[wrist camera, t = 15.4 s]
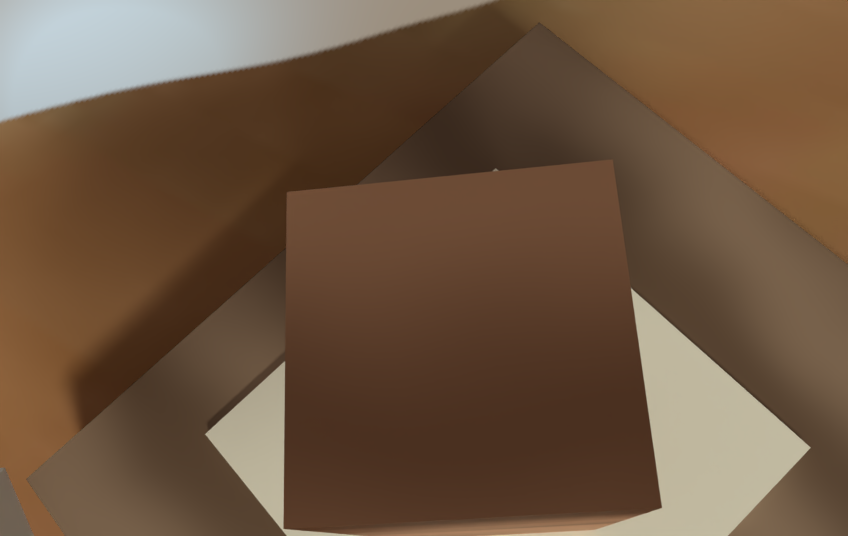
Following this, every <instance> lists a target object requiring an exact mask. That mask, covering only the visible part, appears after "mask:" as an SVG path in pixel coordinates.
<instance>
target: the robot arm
mask: <svg viewBox="0 0 848 536" xmlns="http://www.w3.org/2000/svg"><path fill="white" fill-rule="evenodd" d="M0 536H34V535H33V533H32V530H31V528H30V526H29V523H28V521H27V519H26V516H25V514H24V512H23V509H22V507H21V505H20V502H19V500H18V498H17V495H16V493H15V491H14V488H13V486H12V484H11V481H10V479H9V477H8V474H7V472H6V470H5V468H0Z"/></svg>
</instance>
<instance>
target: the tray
mask: <svg viewBox="0 0 848 536" xmlns="http://www.w3.org/2000/svg"><path fill="white" fill-rule="evenodd" d="M612 159H613V165H614V172H615V179H616V186H617V193H618V200H619V207H620V215H621V222H622V229H623V236H624V243H625V250H626V257H627V264H628V271H629V278H630V285H631V292H632V299H633V306H634V313H635V320H636V327H637V334H638V342H639V349H640V356H641V363H642V370H643V377H644V384H645V391H646V398H647V405H648V412H649V419H650V426H651V433H652V440H653V447H654V454H655V462H656V469H657V476H658V483H659V490H660V497H661V504H662V508H660V509H657V510H654V511H651V512H648V513H645V514H642V515H639V516H636V517H633V518H630V519H627V520H624V521H621V522H618V523H614V524H611V525H608V526H605V527H602V528H599V529H596V530H585V531H566V532H548V533H529V534H510V535H492V536H848V264H846V263H845V262H844V261H843V260H841V259H840V258H839V257H837V256H836V255H835V254H834V253H832V252H831V251H830V250H829V249H827V248H826V247H825V246H823V245H822V244H821V243H820V242H818V241H817V240H816V239H815V238H813V237H812V236H811V235H809V234H808V233H807V232H806V231H804V230H803V229H802V228H801V227H799V226H798V225H797V224H795V223H794V222H793V221H792V220H790V219H789V218H788V217H787V216H785V215H784V214H783V213H781V212H780V211H779V210H778V209H776V208H775V207H774V206H773V205H771V204H770V203H769V202H767V201H766V200H765V199H764V198H762V197H761V196H760V195H758V194H757V193H756V192H755V191H753V190H752V189H751V188H750V187H748V186H747V185H746V184H744V183H743V182H742V181H741V180H739V179H738V178H737V177H736V176H734V175H733V174H732V173H730V172H729V171H728V170H727V169H725V168H724V167H723V166H722V165H720V164H719V163H718V162H716V161H715V160H714V159H713V158H711V157H710V156H709V155H708V154H706V153H705V152H704V151H702V150H701V149H700V148H699V147H697V146H696V145H695V144H694V143H692V142H691V141H690V140H688V139H687V138H686V137H685V136H683V135H682V134H681V133H679V132H678V131H677V130H676V129H674V128H673V127H672V126H671V125H669V124H668V123H667V122H665V121H664V120H663V119H662V118H660V117H659V116H658V115H657V114H655V113H654V112H653V111H651V110H650V109H649V108H648V107H646V106H645V105H644V104H643V103H641V102H640V101H639V100H637V99H636V98H635V97H634V96H632V95H631V94H630V93H629V92H627V91H626V90H625V89H623V88H622V87H621V86H620V85H618V84H617V83H616V82H615V81H613V80H612V79H611V78H609V77H608V76H607V75H606V74H604V73H603V72H602V71H600V70H599V69H598V68H597V67H595V66H594V65H593V64H592V63H590V62H589V61H588V60H586V59H585V58H584V57H583V56H581V55H580V54H579V53H578V52H576V51H575V50H574V49H572V48H571V47H570V46H569V45H567V44H566V43H565V42H564V41H562V40H561V39H560V38H558V37H557V36H556V35H555V34H553V33H552V32H551V31H550V30H548V29H547V28H546V27H544V26H543V25H542V24H541V23H538V24H537V25H536V26H535V27H534V28H532V29H531V30H530V31H529V32H528V33H527V34H526V35H525V36H523V37H522V38H521V39H520V40H519V41H518V42H517V43H516V44H514V45H513V46H512V47H511V48H510V49H509V50H508V51H507V52H505V53H504V54H503V55H502V56H501V57H500V58H499V59H498V60H496V61H495V62H494V63H493V64H492V65H491V66H490V67H489V68H487V69H486V70H485V71H484V72H483V73H482V74H481V75H480V76H478V77H477V78H476V79H475V80H474V81H473V82H472V83H471V84H469V85H468V86H467V87H466V88H465V89H464V90H463V91H462V92H460V93H459V94H458V95H457V96H456V97H455V98H454V99H453V100H452V101H450V102H449V103H448V104H447V105H446V106H445V107H444V108H443V109H441V110H440V111H439V112H438V113H437V114H436V115H435V116H434V117H432V118H431V119H430V120H429V121H428V122H427V123H426V124H425V125H423V126H422V127H421V128H420V129H419V130H418V131H417V132H416V133H414V134H413V135H412V136H411V137H410V138H409V139H408V140H407V141H405V142H404V143H403V144H402V145H401V146H400V147H399V148H398V149H396V150H395V151H394V152H393V153H392V154H391V155H390V156H389V157H387V158H386V159H385V160H384V161H383V162H382V163H381V164H380V165H378V166H377V167H376V168H375V169H374V170H373V171H372V172H371V173H369V174H368V175H367V176H366V177H365V178H364V179H363V180H362V181H361V182H359V183H358V184H357V185H362V184H372V183H382V182H392V181H402V180H412V179H422V178H432V177H442V176H452V175H462V174H472V173H482V172H492V171H502V170H512V169H522V168H532V167H542V166H552V165H562V164H572V163H582V162H592V161H602V160H612ZM285 315H286V248H285V249H284V250H283V251H282V252H281V253H280V254H278V255H277V256H276V257H275V258H274V259H273V260H272V261H271V262H270V263H268V264H267V265H266V266H265V267H264V268H263V269H262V270H261V271H259V272H258V273H257V274H256V275H255V276H254V277H253V278H252V279H250V280H249V281H248V282H247V283H246V284H245V285H244V286H243V287H241V288H240V289H239V290H238V291H237V292H236V293H235V294H234V295H232V296H231V297H230V298H229V299H228V300H227V301H226V302H225V303H223V304H222V305H221V306H220V307H219V308H218V309H217V310H216V311H214V312H213V313H212V314H211V315H210V316H209V317H208V318H207V319H205V320H204V321H203V322H202V323H201V324H200V325H199V326H198V327H196V328H195V329H194V330H193V331H192V332H191V333H190V334H189V335H187V336H186V337H185V338H184V339H183V340H182V341H181V342H180V343H179V344H177V345H176V346H175V347H174V348H173V349H172V350H171V351H170V352H168V353H167V354H166V355H165V356H164V357H163V358H162V359H161V360H159V361H158V362H157V363H156V364H155V365H154V366H153V367H152V368H150V369H149V370H148V371H147V372H146V373H145V374H144V375H143V376H141V377H140V378H139V379H138V380H137V381H136V382H135V383H134V384H132V385H131V386H130V387H129V388H128V389H127V390H126V391H125V392H123V393H122V394H121V395H120V396H119V397H118V398H117V399H116V400H114V401H113V402H112V403H111V404H110V405H109V406H108V407H107V408H105V409H104V410H103V411H102V412H101V413H100V414H99V415H98V416H96V417H95V418H94V419H93V420H92V421H91V422H90V423H89V424H87V425H86V426H85V427H84V428H83V429H82V430H81V431H80V432H79V433H77V434H76V435H75V436H74V437H73V438H72V439H71V440H70V441H68V442H67V443H66V444H65V445H64V446H63V447H62V448H61V449H59V450H58V451H57V452H56V453H55V454H54V455H53V456H52V457H50V458H49V459H48V460H47V461H46V462H45V463H44V464H43V465H41V466H40V467H39V468H38V469H37V470H36V471H35V472H34V473H32V474H31V475H30V476H29V477H28V478H27V479H26V480H27V481H28V483H29V484H30V485H31V487H32V488H33V490H34V491H35V493H36V494H37V496H38V497H39V499H40V500H41V501H42V503H43V504H44V506H45V507H46V509H47V510H48V512H49V513H50V515H51V516H52V517H53V519H54V520H55V522H56V523H57V525H58V526H59V528H60V529H61V531H62V532H63V533H64V535H65V536H359V535H347V534H336V533H324V532H312V531H300V530H289V529H283V518H284V416H285Z"/></svg>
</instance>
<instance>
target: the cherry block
mask: <svg viewBox="0 0 848 536" xmlns="http://www.w3.org/2000/svg"><path fill="white" fill-rule="evenodd" d="M660 508H662V504H661V497H660V490H659V483H658V476H657V469H656V462H655V454H654V447H653V440H652V433H651V426H650V419H649V412H648V405H647V398H646V391H645V384H644V377H643V370H642V363H641V356H640V349H639V342H638V334H637V327H636V320H635V313H634V306H633V299H632V292H631V285H630V278H629V271H628V264H627V257H626V250H625V243H624V236H623V229H622V222H621V215H620V207H619V200H618V193H617V186H616V179H615V172H614V165H613V159H612V160H602V161H592V162H582V163H572V164H562V165H552V166H542V167H532V168H522V169H512V170H502V171H492V172H482V173H472V174H462V175H452V176H442V177H432V178H422V179H412V180H402V181H392V182H382V183H372V184H362V185H352V186H342V187H331V188H321V189H311V190H301V191H291V192H287V214H286V315H285V416H284V518H283V529H289V530H300V531H312V532H324V533H336V534H347V535H359V536H492V535H510V534H529V533H548V532H566V531H585V530H596V529H599V528H602V527H605V526H608V525H611V524H614V523H618V522H621V521H624V520H627V519H630V518H633V517H636V516H639V515H642V514H645V513H648V512H651V511H654V510H657V509H660Z"/></svg>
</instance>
